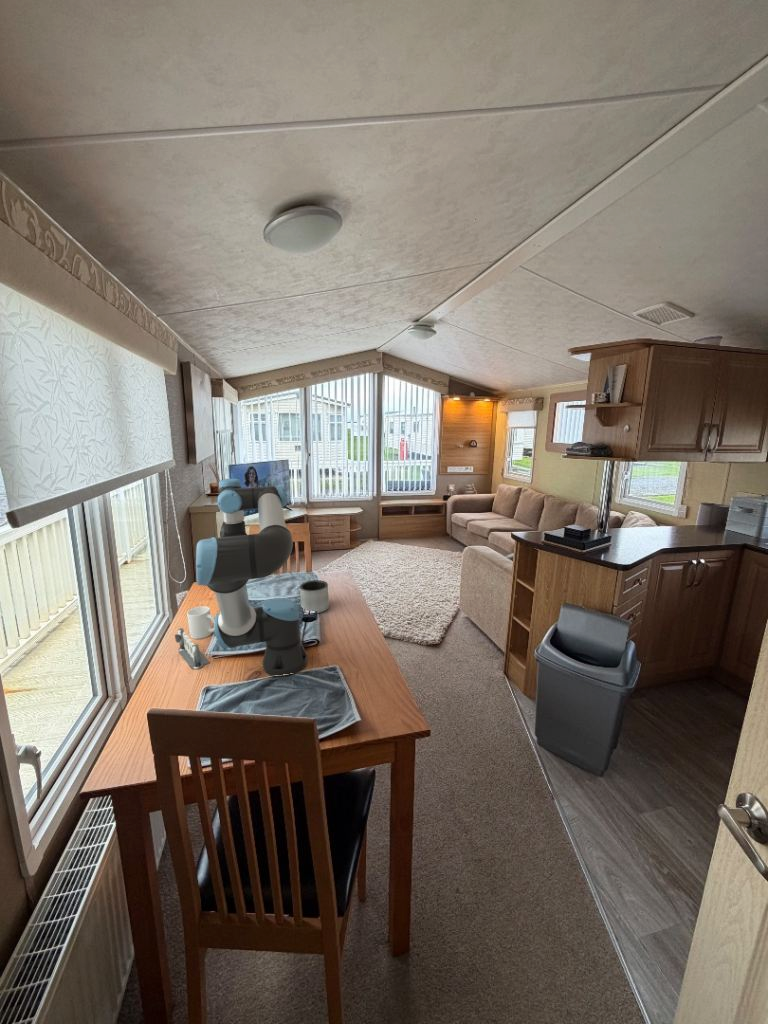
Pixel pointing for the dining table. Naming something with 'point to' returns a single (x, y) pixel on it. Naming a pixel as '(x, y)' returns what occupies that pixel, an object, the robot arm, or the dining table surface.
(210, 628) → the mug
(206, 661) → the grey flat plate
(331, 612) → the dining table surface
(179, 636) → the gateposts
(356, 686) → the dining table surface
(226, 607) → the robot arm
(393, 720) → the dining table surface
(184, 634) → the gate
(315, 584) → the planter
